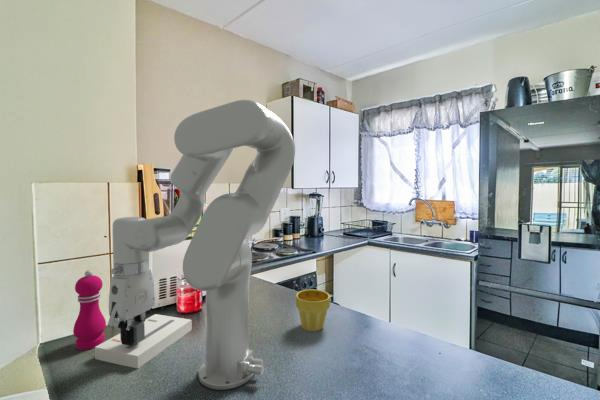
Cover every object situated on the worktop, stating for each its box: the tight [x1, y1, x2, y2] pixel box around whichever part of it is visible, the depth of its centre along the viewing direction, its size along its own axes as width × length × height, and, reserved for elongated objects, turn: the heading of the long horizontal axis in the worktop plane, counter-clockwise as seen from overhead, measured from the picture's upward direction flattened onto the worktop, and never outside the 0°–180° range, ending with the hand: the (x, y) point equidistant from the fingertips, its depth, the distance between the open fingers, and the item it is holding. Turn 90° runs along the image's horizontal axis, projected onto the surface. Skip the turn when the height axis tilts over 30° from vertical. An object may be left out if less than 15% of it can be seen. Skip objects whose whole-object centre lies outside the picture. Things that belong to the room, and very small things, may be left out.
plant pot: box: [295, 289, 331, 332], centre depth 93 cm, size 10×10×10 cm
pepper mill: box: [72, 269, 107, 351], centre depth 81 cm, size 7×7×20 cm
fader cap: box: [119, 320, 145, 344], centre depth 75 cm, size 5×2×5 cm, turn 73°
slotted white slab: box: [94, 313, 193, 369], centre depth 82 cm, size 13×20×3 cm, turn 163°
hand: (132, 340), depth 75 cm, fingers closed on fader cap, 2 cm apart
